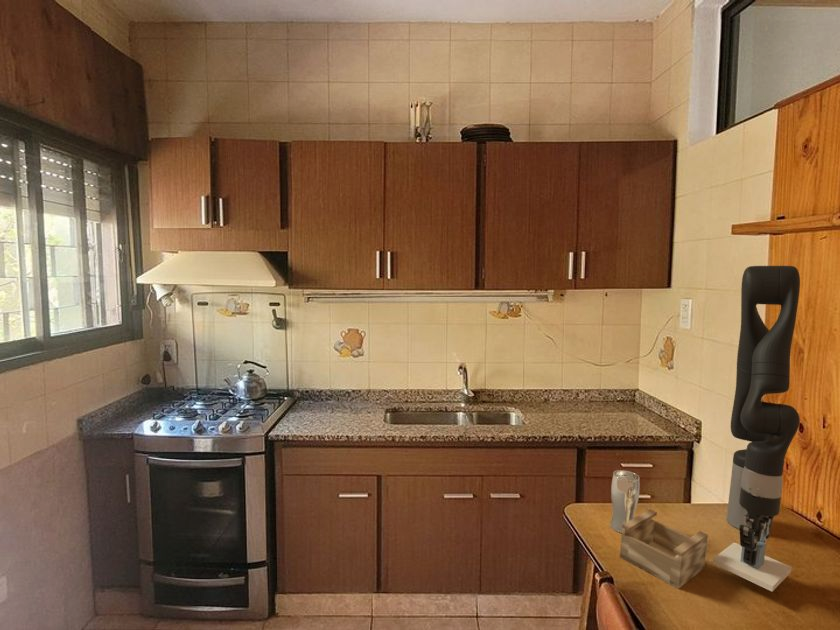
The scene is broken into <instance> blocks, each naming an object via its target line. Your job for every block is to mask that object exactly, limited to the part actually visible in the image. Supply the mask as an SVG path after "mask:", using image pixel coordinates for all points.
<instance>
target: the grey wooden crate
mask: <svg viewBox="0 0 840 630" xmlns="http://www.w3.org/2000/svg"><path fill="white" fill-rule="evenodd" d="M657 514H658V513H657V511H654V510H652V509H648V510H646V511H644V512H643V513H641V514H639V515H637V516H636V517H635V516H634V518H633V519H632V520H630V521H628V522H626V523H624V524H623V525H622V533H621V539H620V551H619V558H621V559H622V558H623V560H625V561H626V562H628V563H630V564H632V565H633V566H636V567H638V568H640V569H641V570H644V571H645V572H646V573H648V574H650V575H652V576H655V578H658V579H659V580H661V581H663V582H665V583H667V584H668V585H670V586H673V587H674V588H676V589H680V588H681V587H683V586H684V585H685V584H687V582H688V581H690V580H692V578H695V576H696V575H698V574H699V573H701V571H703V570H704V569H705V565H706V557H707V555H706V554H707V547H708V537H709V536H708V535H709V534H707V533H705V532H702V531H698V532H696V533H695V534H694V535H692V536H689V535H687V534H684V533H683V532H680V531H679V530H676V529H674V528H672V527H670V526H668V525H665V524H663V523H660V522H659V521H656V520H654V519H653V518H654V517H656V516H657Z"/></svg>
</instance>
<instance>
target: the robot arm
mask: <svg viewBox="0 0 840 630" xmlns="http://www.w3.org/2000/svg"><path fill="white" fill-rule="evenodd" d="M800 277H801V276H800V273H799V269H797V267H796V266H793V265H751V266H750V265H749V266H747V267H746V268H745V270H744V271H743V274H742V278H741V293H740V294H741V298H740V299H741V303H740V304H741V305H740V306H741V309H740V310H741V311H740V331H739V340H738V345H737V346H738V348H737V357H736V374H735V375H736V376H735V378H736V379H735V381H736V382H735V391H734V398H733V404H732V405H733V406H732V411H731V417H730V432H731V435H732V437H734V438H735V439H739V440H742V441H746V442H747V441H748V442H749V443H748V444H747V446H746V448H745V449H739V450H735V452H734V453H733V457H732V464H731V465H732V466H731V467H732V468H731V477H730V485H729V493H728V503H727V512H726V522H727V523H728V524H730V525H731V526H732V527H733V528H736V529H738V530H739V545H741V546H742V547H745V549H744V558H743V561H744V562H745V563H747V564H749V565H751V566H754V565H755V562H756V554H757V549H758V543H759V541H761V542H764V543H766V542H767V540H768V539H770V538H769V537H770V534H771V529H772V525H773V521H774V517H777V516H778V515H779V514H780V510H781V501H782V492H783V481H784V480H783V475H784V474H783V473H784V465H785V458H786V455H787V452H788V450H789V448H790V444H792V443H791V442H792V441H793V439H794V437H795V435H796V433H797V431H798V430H799V428H800V423H801V419H800V414H799V413H798V411H797V409H796V408H795V407H794V406H792V405H789V404H783V403H782V404H781V403H774V402H769V401H767V402H766V401H762V398H763V397H764V396H765V395H769V394H772V395H773V394H784V393H786V392H788V391H789V389H790V386H791V385H790V384H791V383H790V382H791V381H790V379H791V377H790V376H791V349H792V342H793V337H794V332H795V331H794V330H795V327H796V321H797V313H798V307H799V298H800V290H801V289H800V288H801V278H800ZM757 305H769V306H770V305H772V306H773V305H776V306H778V305H779V306H780V312H779V315H778V317H777V319H776V321H775V323H774V324H773V325H772V326H771V328H770V329H769V328H768V327H767V325H765V323H764V321H763V320H762V318H761V316H760V314H759V311H758V308H757ZM766 544H767V543H766Z"/></svg>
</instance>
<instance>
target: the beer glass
mask: <svg viewBox="0 0 840 630" xmlns="http://www.w3.org/2000/svg"><path fill="white" fill-rule="evenodd" d="M640 488H641V487H640V476H639V475H638V474H637V473H634V472H632V471H630V470H624V469H623V470H621V469H616V470H614V471H613V473H612V480H611V487H610V498H611V506H612V516H611V520H610V522H609V527H610V526H611V527H610V528H611V530H613V529H614V530H615V532H616V531H617V533H619V532H620V533H619V534H622V525H623V524H624V523H626V522H628V521H630V520H632V519H633V518H635V513H636V510H637V506H638V502H639V498H640ZM614 530H613V531H614Z"/></svg>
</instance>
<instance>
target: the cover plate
mask: <svg viewBox="0 0 840 630" xmlns="http://www.w3.org/2000/svg"><path fill="white" fill-rule="evenodd" d="M766 548H767V543H764V542H761V541H759V543H758V549H757V554H756V562H755V565H754V566H751V565H749V564H747V563H745V562H744V561H743V558H744V549H745V547H742V546H741V545H740V543H737V542H732V543H731V544H730V545H729V546H727V547H725V549H723V550H722V551H721V552H719V553H718V554H717V555H716V556H713V558H712V564H713V565H715V566H717V567H719V568H722V569H723V570H726V571H727V572H729V573H732V574H734V575H736V576H738V577H741V579H742V578H743V579H744V580H747V581H749V582H751V583H753V584H755V585H757V586H759V587H761V588H764V589H766V590H767V591H770V592H774V591H775V589H777V587H779V585H780V584H781V583H783V581H784V580H785V579H786V578H787V577H788V576H789V575H790V574H791V573H792V567H793V566H790V565H789V564H785V563H783V562H781V561H779V560H776V559H774V558H772V557H770V556H767V555H765V554H766Z"/></svg>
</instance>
